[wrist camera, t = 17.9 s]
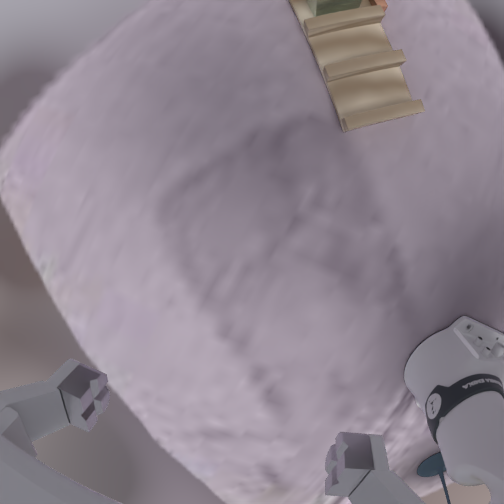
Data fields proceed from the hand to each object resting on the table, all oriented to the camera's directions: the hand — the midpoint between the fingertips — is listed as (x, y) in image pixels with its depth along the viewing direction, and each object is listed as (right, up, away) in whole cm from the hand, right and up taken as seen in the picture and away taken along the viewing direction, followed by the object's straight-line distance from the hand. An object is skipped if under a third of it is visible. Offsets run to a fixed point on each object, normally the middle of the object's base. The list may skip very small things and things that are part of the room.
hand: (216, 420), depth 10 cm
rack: (+14, +31, +24) cm, 42 cm away
